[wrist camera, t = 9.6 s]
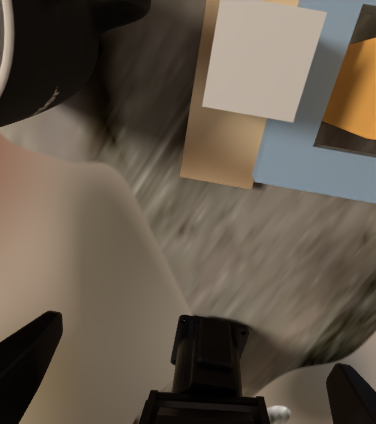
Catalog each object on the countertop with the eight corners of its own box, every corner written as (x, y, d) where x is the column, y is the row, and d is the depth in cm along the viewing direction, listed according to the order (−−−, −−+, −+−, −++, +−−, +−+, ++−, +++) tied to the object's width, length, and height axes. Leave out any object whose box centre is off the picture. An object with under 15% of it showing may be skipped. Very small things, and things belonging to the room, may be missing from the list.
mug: (9, 119, 20) (-168, 154, 11) (-52, -45, 16) (-406, -210, 7) (178, 98, 18) (142, 118, 9) (155, -88, 14) (54, -373, 5)
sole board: (249, 184, 20) (251, 189, 19) (181, 172, 20) (179, 176, 19) (319, -75, 14) (327, -86, 13) (221, -92, 14) (222, -104, 13)
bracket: (396, 185, 18) (515, 254, 11) (197, 150, 18) (186, 195, 11) (492, -1, 14) (787, -86, 7) (231, -46, 14) (249, -176, 7)
